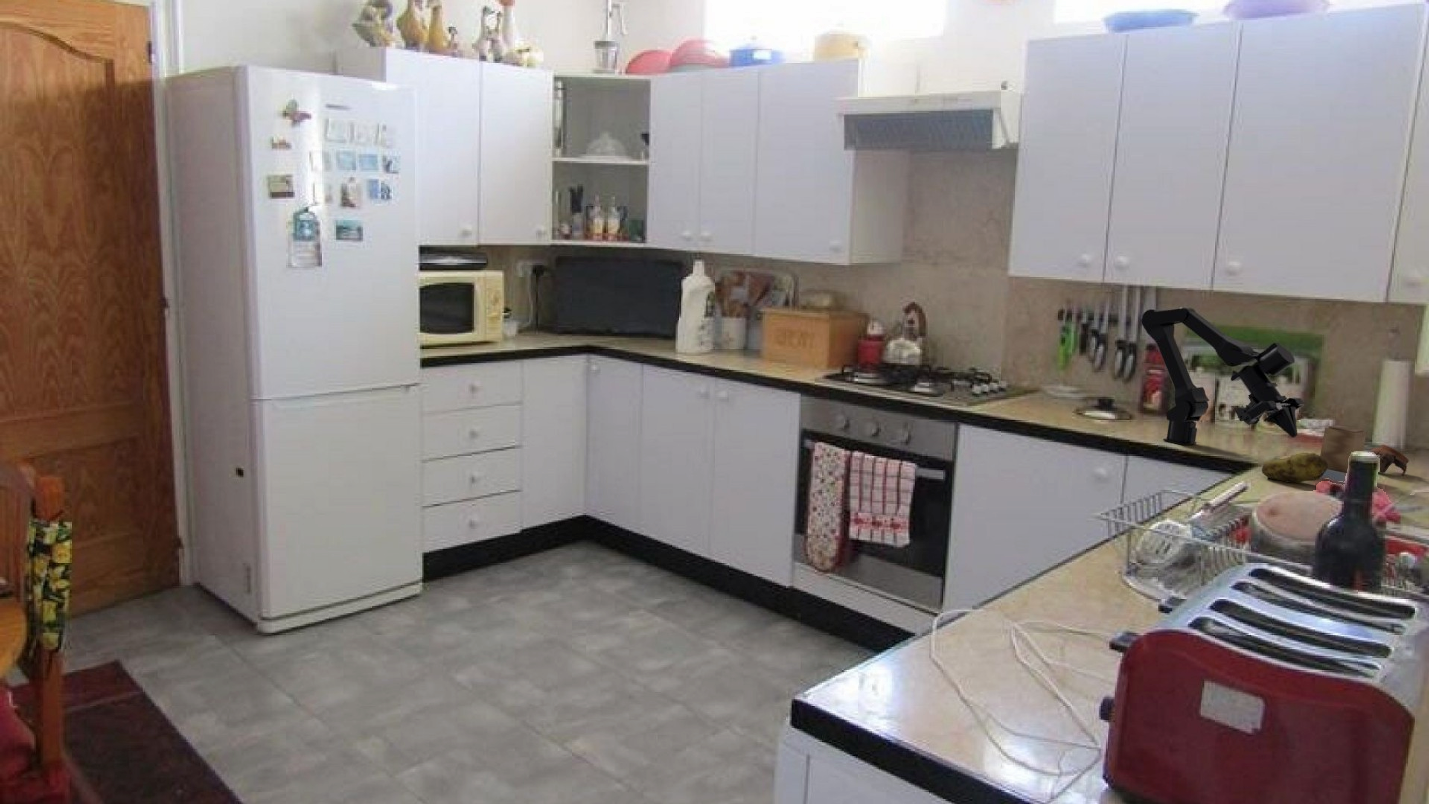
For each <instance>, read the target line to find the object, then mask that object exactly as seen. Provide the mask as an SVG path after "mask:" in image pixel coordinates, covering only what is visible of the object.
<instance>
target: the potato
mask: <svg viewBox="0 0 1429 804" xmlns="http://www.w3.org/2000/svg"><path fill="white" fill-rule="evenodd" d="M1292 455H1293V456H1292ZM1292 455H1291V456H1289V457H1285V458H1280V459H1276V460H1274V459H1272V460H1268V461H1266V462H1264V463H1263V465H1262V468H1261V473H1262V475H1264V476H1265V477H1267V478H1268V479H1271V480H1277V481H1281V482H1286V481H1288V482H1287V483H1293V482H1297V483H1302V482H1308V481H1316V480H1317V481H1318V480H1320V479H1322V478H1321V477H1322V476H1323V474H1324V473H1325V472H1326V470H1327V468H1328V463H1327V461H1326V460H1325V459H1323V458H1322V457H1321V456H1320V454H1316V453H1315V452H1311V453H1309V452H1301V453H1297V454H1292Z"/></svg>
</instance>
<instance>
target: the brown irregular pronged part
mask: <svg viewBox="0 0 1429 804" xmlns="http://www.w3.org/2000/svg"><path fill="white" fill-rule="evenodd" d="M1369 452H1374V453H1375V454H1376V455H1378V457H1379V458H1380V472H1379V473H1383V474H1385V473H1386V472H1387V471H1388V470H1389V467H1391V465H1392V464H1393V465H1394V466H1396V467H1398V468H1400V469H1401V470H1402V473H1401V477H1404V476H1405V474H1406V472H1407V467H1408V465H1407V464H1408V463H1409V462H1410V461H1409V459H1408V458H1407V456H1405V455H1404V454H1402V453H1401V452H1400V451H1398V450H1396V449H1395V448H1393V447H1392V446H1389V445H1386V444H1380V446H1379V447H1376V448H1373V449H1370V451H1368V453H1369Z"/></svg>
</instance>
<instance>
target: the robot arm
mask: <svg viewBox="0 0 1429 804" xmlns="http://www.w3.org/2000/svg"><path fill="white" fill-rule="evenodd" d="M1140 322H1141V325H1142V328H1143V329H1144V330H1145V332H1146V334H1147V335H1148V336H1149V337H1150V338H1151V339H1152V340H1154V342H1155V343H1156V345H1157V347H1158V350H1159V352H1160V356H1161V358H1162V360H1163V364H1164V366H1165V368H1166V370H1167V373H1168V375H1169V378H1170V380H1171V383H1172V385H1173V387H1174V388H1173V389H1174V396H1173V401H1174V406H1173V407H1172V408H1170V409H1169V410H1167V411H1166V412H1165V416H1166V420H1167V421H1168V427H1167V434H1166V437H1165V438H1163V439H1162V440H1163V441H1164V442H1168V443H1173V444H1178V445H1181V446H1188V445H1196V444H1197V441H1196V440H1197V432H1198V428H1197V422H1199V421H1201V420H1200V419H1201V418H1202V416H1204V415H1206V413H1207V411H1208V409H1209V401H1210V399H1209V398H1208V396H1207V394H1206V390H1205V388H1204V387H1203V386H1200V387H1197V386H1196V385H1195V384H1194V382H1193V381H1192V378H1191V376H1190V374H1189V371H1188V368H1187V366H1186V364H1185V361H1184V359H1183V356H1182V353H1181V351H1180V348H1179V346H1178V344H1177V341H1176V339H1175V337H1174V335H1175V325H1178V324H1183V325H1184V326H1185V327H1187V328H1188V329H1189V330H1190V331H1192V332H1193V333H1194V334H1196V335H1197V336H1198V337H1199V338H1201V339H1202V340H1203V341H1204V342H1206V343H1207V344H1208V345H1210V346H1211V347H1212V348H1213V350H1214V351H1215V353H1216V355H1217V356H1218V358H1220V359H1221V361H1222V362H1223V363H1224V364H1225V365H1226V366H1228V367H1231V368H1233V367H1234V368H1235V367H1242V368H1241V369H1239V370H1232V375H1231V378H1230V381H1231V382H1237V381H1241V382H1242V383H1243V385H1244V386H1245V388H1246V390H1247V391H1248V392H1249V393H1250V394H1248V395H1247V396H1248V399H1249V403H1248V404H1246V405H1245V406H1238V407H1237V408H1236V409H1235V410H1234V412H1235V414H1236V416H1237V418H1238V421H1239V422H1244V423H1245V424H1247V425H1248V426H1251V425H1253V426H1254V425H1257V424H1258V423H1259V422H1260V419H1261V417H1263V415H1264V414H1266V418H1265V419H1263V422H1265V423H1266V422H1268V423H1273V424H1274V425H1276V426H1277V427H1279V428H1280V429H1281V430H1282V431H1284V432H1285V433H1286V434H1287V435H1289V437H1292V438H1296V437H1298V435H1299V433H1298V428H1297V420H1296V411H1297V410H1298V409H1300V408H1302V407H1304V406H1305V402H1304V401H1303V400H1302V399H1301V397H1294V396H1293V397H1289V398H1287V397H1286V395H1282V394H1281V393H1280V392H1279V390H1278V389H1277V388H1276V387H1278V386H1279V385H1278V383H1277V382H1272V380H1271V379H1270V378H1269V375H1271V376H1277V375H1278V374H1279V373H1281V372H1283V371H1284V370H1285V369H1287V368H1288V367H1290V366H1291V365H1293V364H1294V363H1295V362H1296V361H1295V357H1294V355H1293V354H1292V353H1291V351H1289V350H1288V349H1287V348H1285V347H1284V346H1282V345H1281V344H1280V343H1279V342H1273V343H1271V344H1270V345H1269V346H1268V347H1267V348H1266V349H1264V350H1263V351H1262V352H1260V351H1259V352H1258V351H1255V350H1254V349H1253V348H1252V347H1251V346H1250V345H1248V344H1246V343H1245V342H1243V341H1241V340H1237V339H1235V338H1233V337H1230V336H1228V335H1227V334H1225V333H1224V332H1222V331H1221V329H1219V328H1217V327H1216V326H1215V325H1214V324H1212V323H1211V322H1209V321H1208V320H1207V319H1205V318H1204V317H1203V316H1202V315H1201V314H1199V313H1198V312H1196V310H1195V309H1194V308H1192V307H1185V306H1183V307H1180V308H1173V309H1153V308H1152V309H1147V310H1146V311H1144V312H1143V314H1142V316H1141V318H1140ZM1252 363H1253V364H1252ZM1250 364H1251V365H1250Z"/></svg>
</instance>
